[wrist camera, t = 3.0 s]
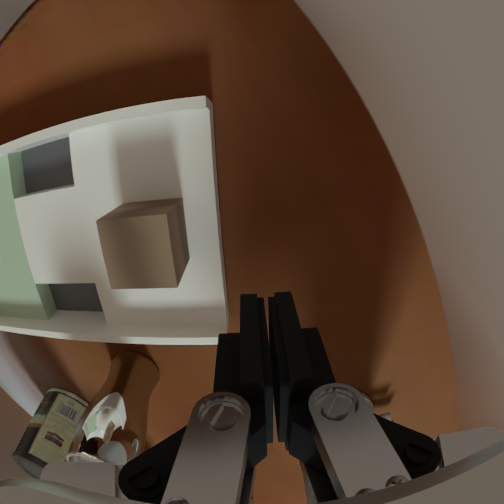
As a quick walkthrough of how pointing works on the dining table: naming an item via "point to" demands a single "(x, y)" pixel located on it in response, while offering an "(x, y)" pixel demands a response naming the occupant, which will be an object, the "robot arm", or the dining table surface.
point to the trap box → (96, 206)
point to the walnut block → (145, 244)
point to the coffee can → (49, 431)
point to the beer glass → (116, 413)
